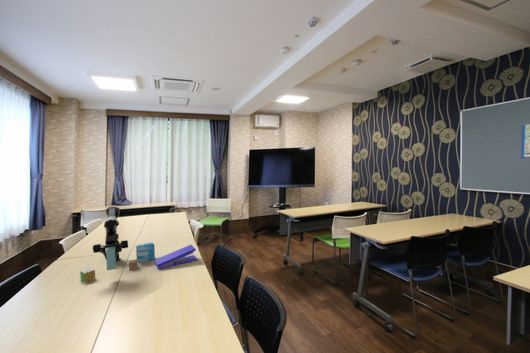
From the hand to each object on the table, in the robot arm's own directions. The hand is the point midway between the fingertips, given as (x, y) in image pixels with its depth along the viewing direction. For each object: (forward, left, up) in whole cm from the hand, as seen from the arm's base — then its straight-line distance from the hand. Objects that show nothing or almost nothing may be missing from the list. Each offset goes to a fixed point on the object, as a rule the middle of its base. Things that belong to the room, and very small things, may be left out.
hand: (111, 258), depth 149 cm
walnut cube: (-4, +17, -13) cm, 22 cm away
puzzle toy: (-15, -5, -14) cm, 21 cm away
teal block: (-1, +1, -7) cm, 7 cm away
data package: (-8, +31, -14) cm, 34 cm away
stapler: (+17, +36, -14) cm, 43 cm away
